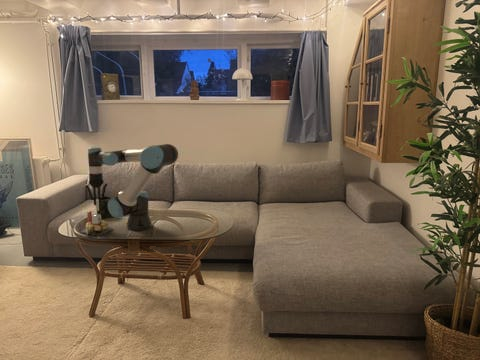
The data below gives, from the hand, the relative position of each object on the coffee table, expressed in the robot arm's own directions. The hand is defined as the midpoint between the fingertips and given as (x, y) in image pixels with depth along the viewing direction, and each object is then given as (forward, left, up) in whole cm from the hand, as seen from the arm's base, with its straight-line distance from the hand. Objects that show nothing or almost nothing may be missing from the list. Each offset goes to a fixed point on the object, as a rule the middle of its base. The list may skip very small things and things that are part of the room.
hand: (97, 210), depth 229 cm
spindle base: (-6, +7, -11) cm, 14 cm away
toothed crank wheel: (-4, +6, -9) cm, 12 cm away
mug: (+13, -19, -11) cm, 26 cm away
